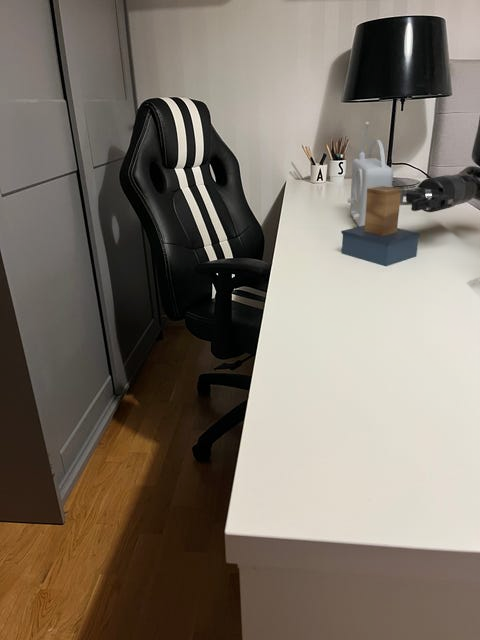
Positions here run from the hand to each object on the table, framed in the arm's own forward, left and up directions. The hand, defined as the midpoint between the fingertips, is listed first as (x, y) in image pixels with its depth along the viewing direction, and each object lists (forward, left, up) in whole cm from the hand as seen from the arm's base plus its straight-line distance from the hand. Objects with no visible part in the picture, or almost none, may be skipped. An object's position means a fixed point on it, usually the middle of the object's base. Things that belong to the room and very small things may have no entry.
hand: (396, 203), depth 106 cm
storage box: (+2, +4, -11) cm, 11 cm away
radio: (+10, -24, -11) cm, 28 cm away
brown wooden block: (+2, +4, -6) cm, 7 cm away
